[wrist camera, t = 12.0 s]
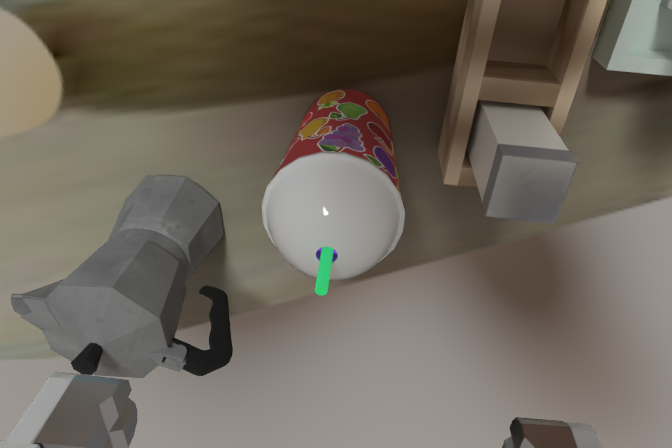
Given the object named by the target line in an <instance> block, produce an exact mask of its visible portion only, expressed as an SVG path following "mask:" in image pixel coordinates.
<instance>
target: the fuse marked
mask: <svg viewBox="0 0 672 448" xmlns="http://www.w3.org/2000/svg"><path fill="white" fill-rule="evenodd" d="M660 5H661V6H663V7H665V8H669V9H672V0H661V3H660Z"/></svg>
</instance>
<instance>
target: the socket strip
mask: <svg viewBox="0 0 672 448" xmlns="http://www.w3.org/2000/svg"><path fill="white" fill-rule="evenodd" d="M606 3H607V0H468V2H467V7H466V12H465V16H464V21H463V26H462V31H461V36H460V41H459V46H458V51H457V56H456V61H455V66H454V71H453V76H452V81H451V86H450V91H449V96H448V101H447V106H446V111H445V116H444V121H443V126H442V131H441V136H440V141H439V146H438V156H439V161H440V167H441V172H442V178H443V183H444V184H447V185H457V186H467V187H476V188H478V186H477V183H476V179H475V176H474V173H473V169H472V166H471V162H470V159H469V155H468V152H467V148H466V147H467V143H468V139H469V134H470V130H471V126H472V122H473V117H474V113H475V109H476V105H477V100H485V101H496V102H506V103H517V104H527V105H537V106H540V108H541V109H542V111H543V112H544V114H545V115H546V117H547V118H548V120H549V121H550V123H551V124H552V126H553V127H554V129H555V130H556V132H557V133H558V135H559V136H561V133H562V130H563V127H564V125H565V122H566V119H567V116H568V113H569V110H570V107H571V104H572V101H573V98H574V95H575V93H576V90H577V87H578V84H579V81H580V78H581V75H582V72H583V69H584V66H585V64H586V61H587V58H588V55H589V52H590V49H591V46H592V43H593V40H594V37H595V35H596V32H597V29H598V26H599V23H600V20H601V17H602V14H603V11H604V8H605V5H606Z"/></svg>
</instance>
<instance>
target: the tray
mask: <svg viewBox="0 0 672 448" xmlns="http://www.w3.org/2000/svg"><path fill="white" fill-rule="evenodd" d="M660 3H661V0H611V3H610V6H609V9H608V11H607V14H606V17H605V20H604V23H603V26H602V29H601V32H600V34H599V37H598V40H597V43H596V46H595V49H594V52H593V54H592V57H593V58H594V59H595V60H596V61H597V62H598V63H599V64H600V65H602V66H603V67H604V68H605V69H606V70H613V71H624V72H634V73H645V74H656V75H666V76H672V9H669V8H665V7H663V6H661V5H660Z"/></svg>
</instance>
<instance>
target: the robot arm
mask: <svg viewBox="0 0 672 448" xmlns="http://www.w3.org/2000/svg"><path fill="white" fill-rule="evenodd" d="M130 392H131V387H130V384H129V381H128V380H124V379H115V378H106V377H98V376H89V375H81V374H73V373H63V372H55V373H54V374H53V375H51V376H50V377H49V378H48V379H47V380H46V382H45V384H44V385H43V386H42V388H41V389H40V391H39V392H38V394H37V395H36V397H35V398H34V400H33V401H32V403H31V404H30V405H29V407H28V408H27V410H26V411H25V413H24V414H23V416H22V417H21V419H20V421H19V422H18V423H17V425H16V426H15V428H14V429H13V431H12V432H11V434H10V435H9V436H8V438H7V439H6V441H3V440H0V448H128V447H129V445H130V443H131V440H132V438H133V436H134V432H135V427H136V424H137V408H136V404H135V403H134V402H133V401H132V400H131V399H130V398H128V396H129V394H130ZM510 431H511V437H509V438H508V439H506V440H505V441H504V444H503V447H502V448H602V445H601V442H600V440H599V437H598V435H597V432H596V430H595V429H594V428H593V427H592V425H589V424H581V423H567V422H563V421H554V420H542V419H530V418H518V417H516V418H515V419H514V420H513V421H512V423H511V426H510Z"/></svg>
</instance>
